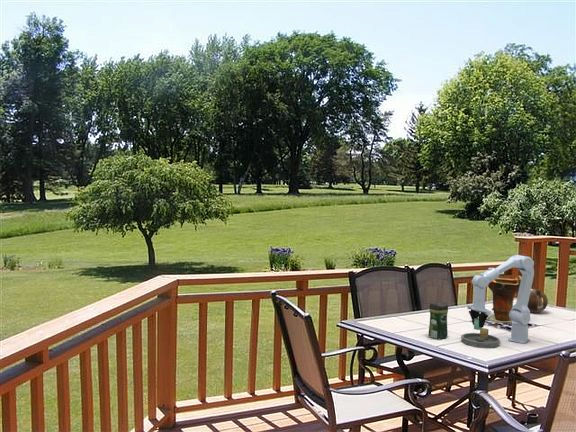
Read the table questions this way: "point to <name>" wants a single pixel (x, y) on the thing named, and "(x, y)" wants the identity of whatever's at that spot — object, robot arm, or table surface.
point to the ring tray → (480, 340)
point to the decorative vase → (503, 298)
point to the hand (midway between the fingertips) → (478, 326)
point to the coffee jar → (438, 320)
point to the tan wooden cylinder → (484, 333)
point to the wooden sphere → (537, 301)
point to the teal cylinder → (477, 324)
